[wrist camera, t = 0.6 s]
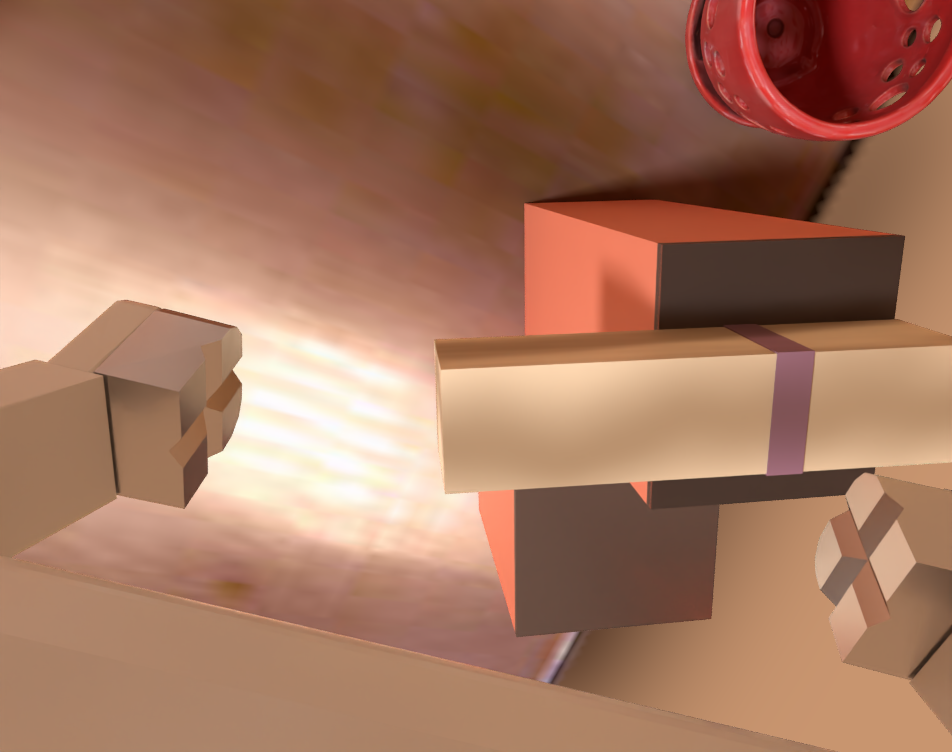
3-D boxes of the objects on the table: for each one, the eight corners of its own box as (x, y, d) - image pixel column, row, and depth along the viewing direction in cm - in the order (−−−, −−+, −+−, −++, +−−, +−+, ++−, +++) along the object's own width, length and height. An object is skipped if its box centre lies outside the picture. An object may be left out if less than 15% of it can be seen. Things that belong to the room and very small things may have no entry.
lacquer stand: (472, 204, 51) (563, 248, 26) (654, 199, 53) (905, 236, 28) (479, 509, 57) (558, 778, 32) (642, 496, 59) (839, 746, 34)
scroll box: (433, 337, 27) (440, 368, 23) (897, 317, 28) (978, 343, 24) (438, 448, 28) (445, 496, 24) (883, 423, 29) (958, 464, 26)
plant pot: (722, -113, 48) (831, -199, 36) (887, -9, 51) (1036, -58, 39) (625, 89, 50) (698, 68, 39) (787, 177, 53) (900, 182, 42)
